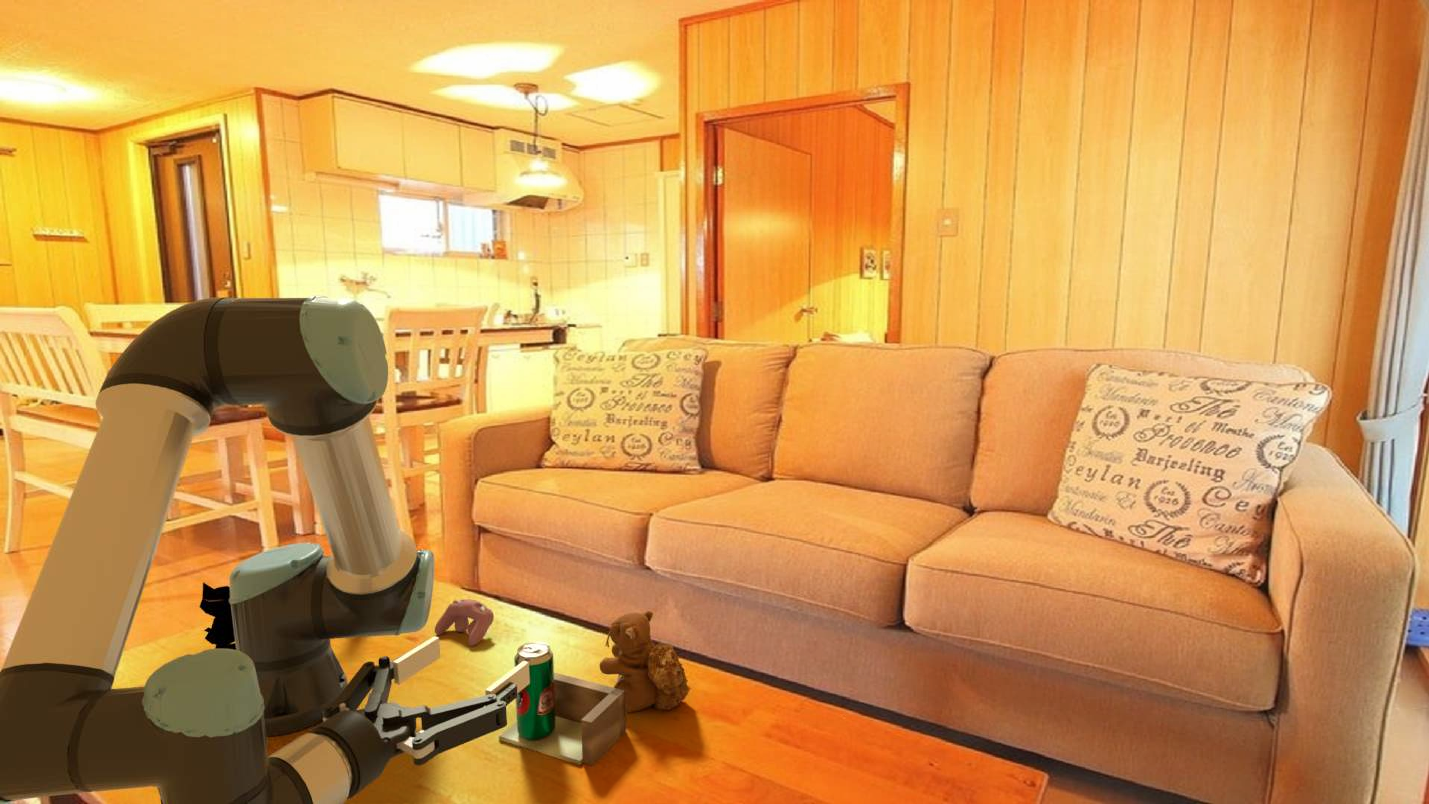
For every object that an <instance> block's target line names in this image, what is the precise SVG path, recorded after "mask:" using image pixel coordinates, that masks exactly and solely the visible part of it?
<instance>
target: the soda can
mask: <svg viewBox="0 0 1429 804" xmlns="http://www.w3.org/2000/svg"><path fill="white" fill-rule="evenodd" d="M513 659H514V661H513V663H514V668H515V667H516V666H517V665H519V664H520V663H521V662H523V661H526V662H529V676H530V684H528V685H527V686H526V687H525V688H524V689H522V690H521V691H520V692H519V693H517V697H516V699H515V708H516V709H515V711H516V722H517V731H518V734H519V735H520V736H521V737H523V738H524V739H527V740H540V739H543V738H546V737H547V736H549V735H550V734H551V733H552V732H553V730H554V729H555V726H556V721H555V691H554V673H555V667H554V652H553V651H552V650H551V646H550V645H549V643H547V642H545V641H531V642H530V641H529V642H526V643H524V644H522V645H520V646H519V647H518V648H517V650H516V654H515V656H514V658H513Z"/></svg>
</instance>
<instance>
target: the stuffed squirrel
mask: <svg viewBox="0 0 1429 804" xmlns="http://www.w3.org/2000/svg"><path fill="white" fill-rule="evenodd" d="M653 616H654V612H653V611H652V610H646V611H644V612H643V613H641V612H631V613H625V614H624V615H621V616H619V617H617V618H616V619H614V620H613V621H612V622H611V624H610V627H609V628H610V629H609V632H608V635H607V638H606V642H605V645H604V646H605V647H607V648H610V645H609V644H610V643H609V639H611V641H612V642H613V645H612V647H611V653H612V655H613V657H605V658H603V659H602V660H601V661H600V662H599V670H600V672H601V673H602V674H603V675H618V676H617V679H616V683H615V684H614V686H613V688H617V689H621V690H624V691H625V714H627V713H634V712H639V711H642V710H646V709H648V708H650V707H651V706H652V707H653V706H654V708H655V709H656V710H657V709H658V710H659V711H660V710H664V711H665V710H666V711H667V710H671V709H673V708H674V707H676V706H678V705H679V704H680V703H682V702H683V701H684V700H685V698H686V697H687V696H688V695H689V693H690V690H691V689H692V688H691V687H689V685H688V684H687V683H688V681H689V680H688V679H687V676H686V674H685V673H686V672H685V668H684V667H683V664H682V663H681V662H680V660H679V659H680V657H679V656H677V653H676V651H675V650H674V646H673V645H670V644H669V643H663V644H661V643H658V644H655V643H654V641H653V640H652V639H651V638H652V637H651V624H650V622H651V620H652V619H653Z"/></svg>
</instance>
